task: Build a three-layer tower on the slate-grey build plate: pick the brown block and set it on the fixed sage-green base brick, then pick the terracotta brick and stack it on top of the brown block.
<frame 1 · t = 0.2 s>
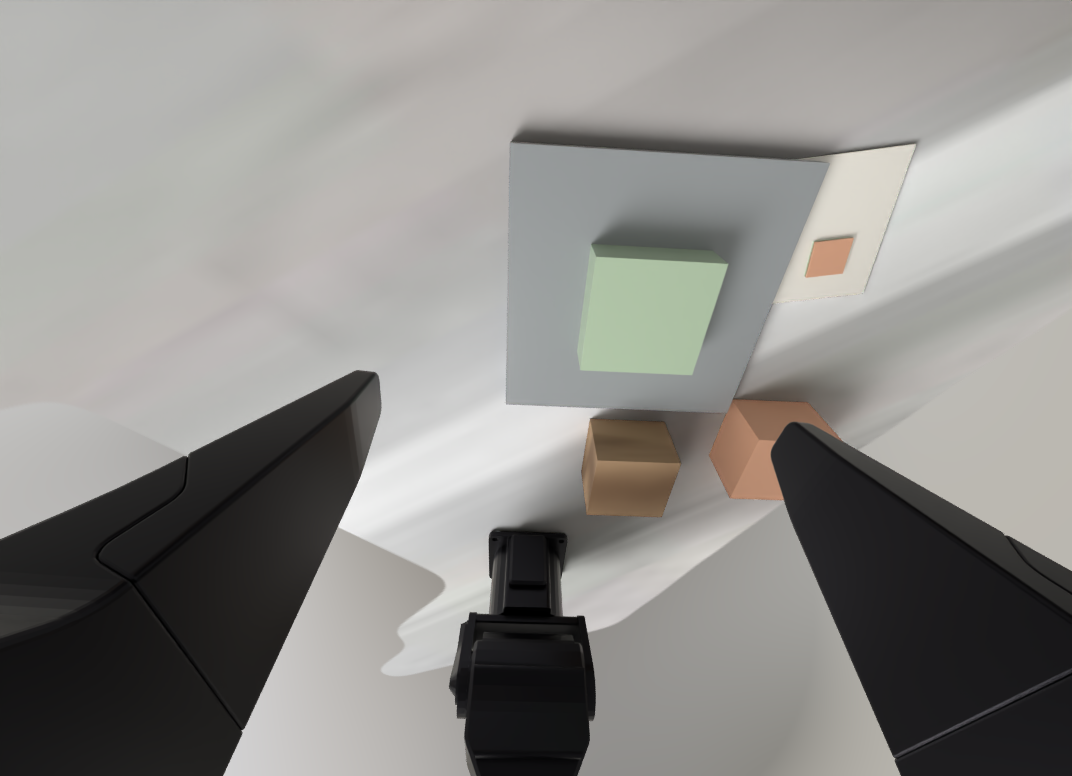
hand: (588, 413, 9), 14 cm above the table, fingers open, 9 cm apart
brown block: (620, 446, 29), on the table
brick terracotta: (755, 428, 28), on the table
build plate: (636, 298, 22), on the table
instruction card: (831, 231, 20), on the table
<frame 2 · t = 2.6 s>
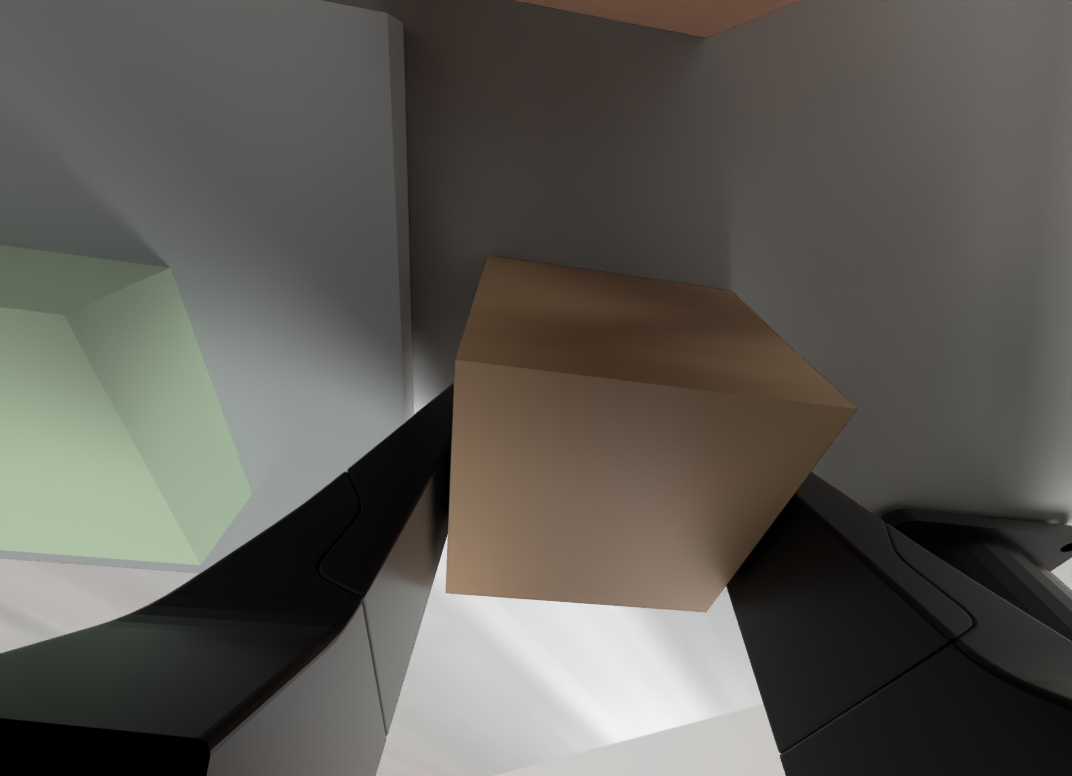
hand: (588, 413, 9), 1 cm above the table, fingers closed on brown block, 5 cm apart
brown block: (585, 376, 10), on the table, touching gripper
build plate: (102, 366, 9), on the table
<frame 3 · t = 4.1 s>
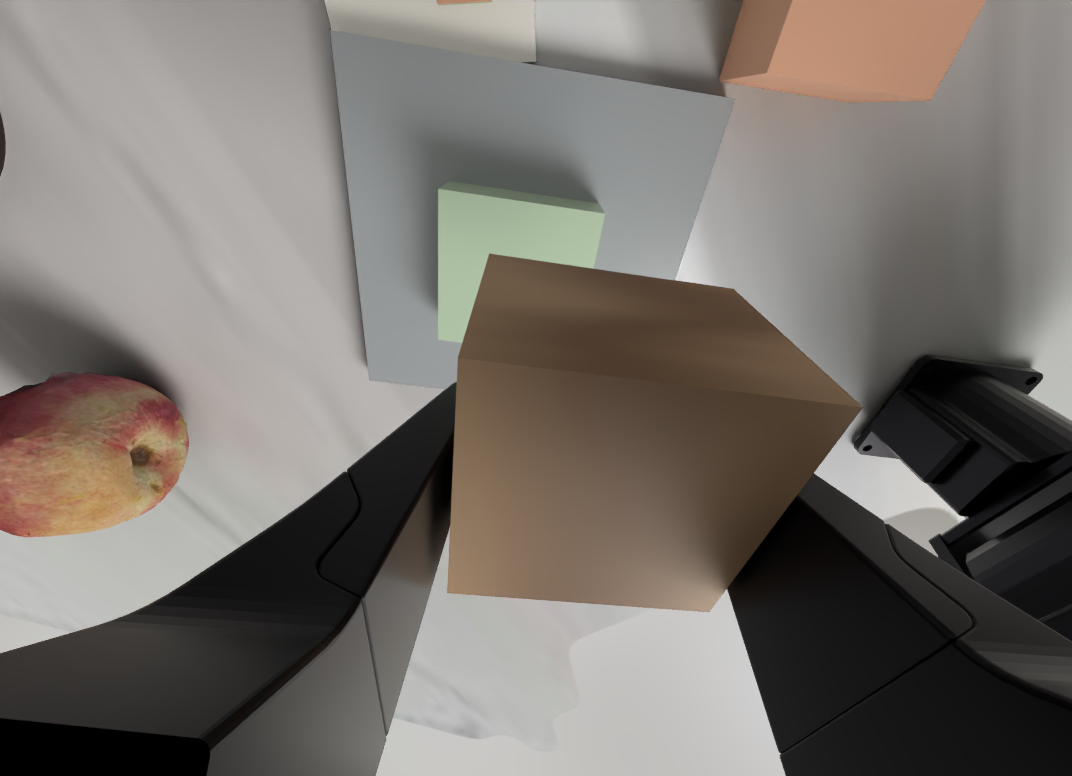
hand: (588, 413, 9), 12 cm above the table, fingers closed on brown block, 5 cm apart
brown block: (587, 375, 10), point 10 cm above the table, touching gripper
brick terracotta: (817, 0, 14), on the table
fruit: (153, 400, 24), on the table
build plate: (517, 261, 19), on the table
when the fingers open (5 cm above the table, at t = 5.8 s): brown block drops 1 cm, resting on build plate.
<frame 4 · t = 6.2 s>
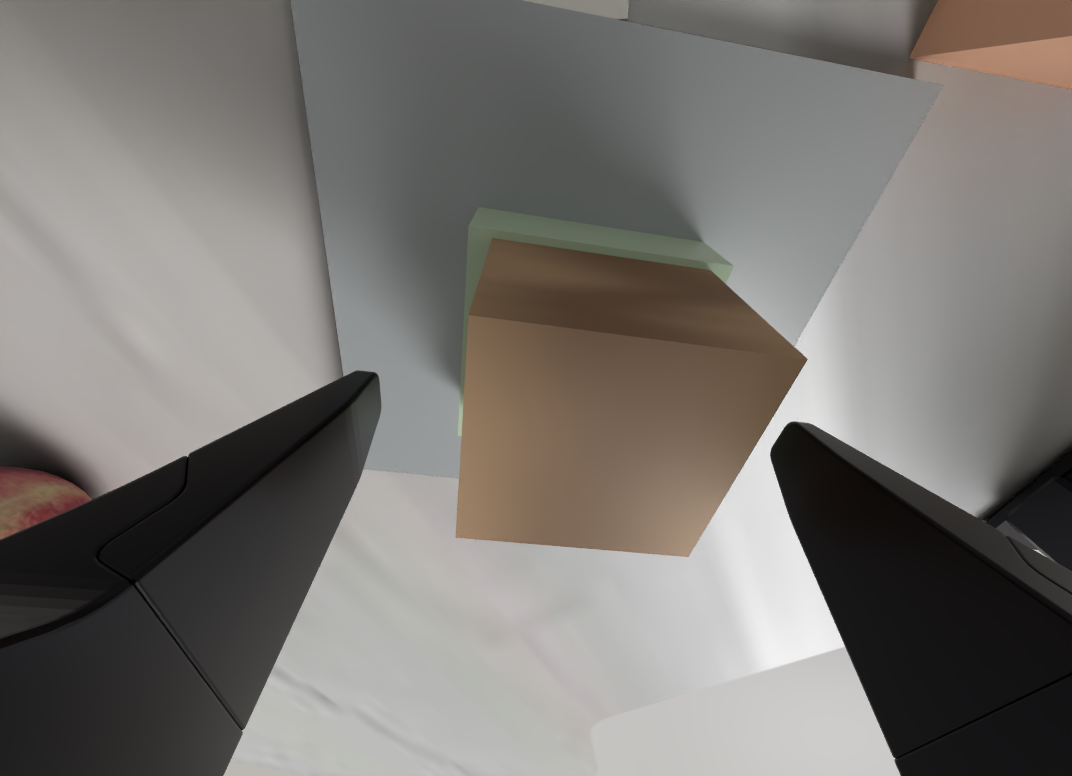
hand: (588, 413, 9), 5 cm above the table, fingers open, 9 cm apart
brown block: (581, 351, 11), point 3 cm above the table, touching build plate
fruit: (64, 486, 18), on the table
build plate: (569, 316, 13), on the table
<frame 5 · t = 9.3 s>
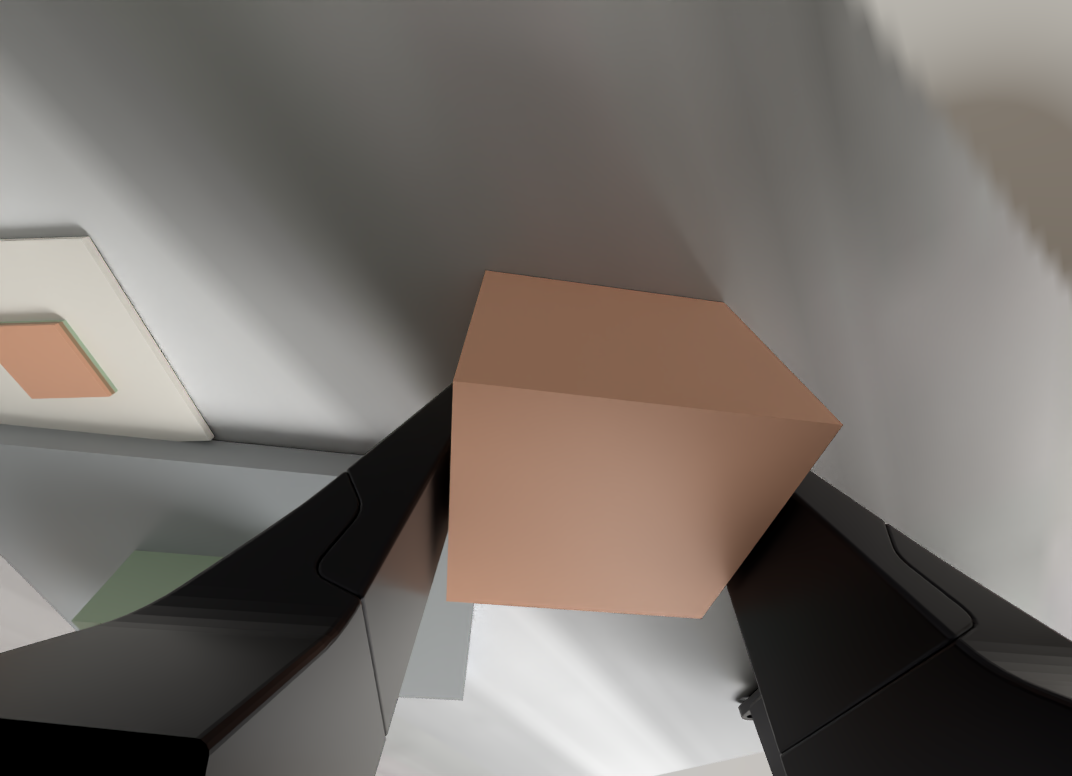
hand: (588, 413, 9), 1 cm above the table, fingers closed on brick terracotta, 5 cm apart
brick terracotta: (583, 386, 10), on the table, touching gripper
build plate: (277, 587, 15), on the table
instruction card: (7, 356, 9), on the table
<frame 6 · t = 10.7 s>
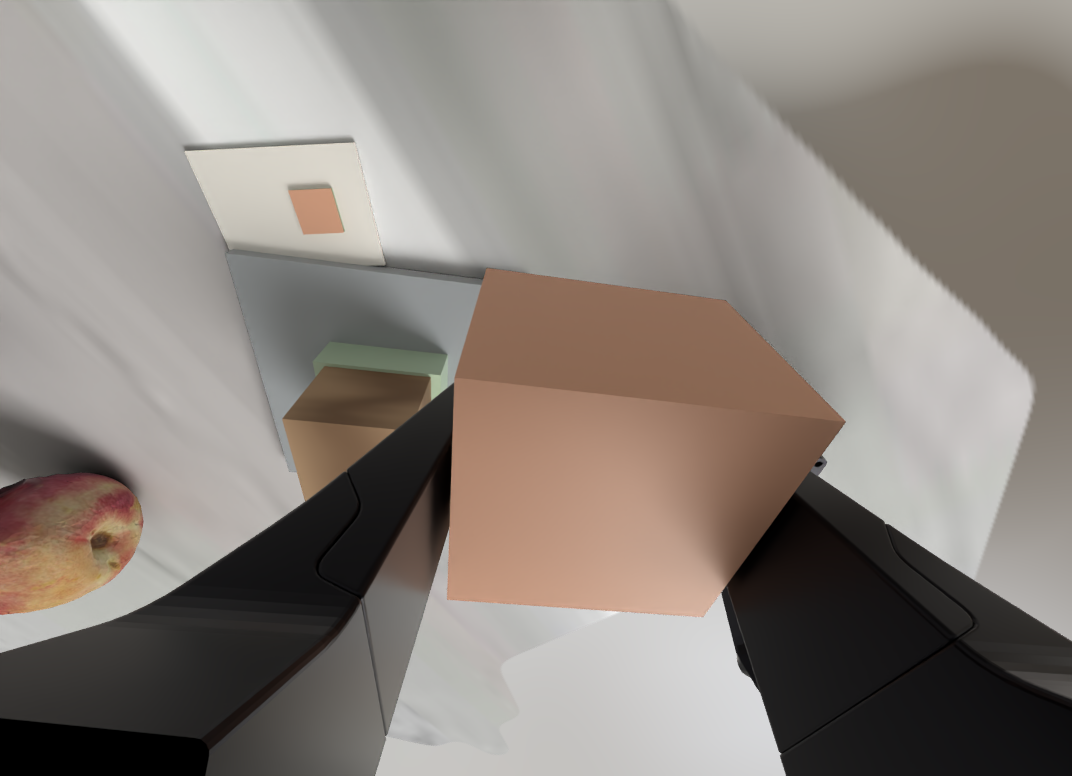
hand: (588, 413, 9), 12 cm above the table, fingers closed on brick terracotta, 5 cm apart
brown block: (382, 412, 21), point 3 cm above the table, touching build plate
brick terracotta: (584, 385, 10), point 11 cm above the table, touching gripper
fruit: (113, 484, 28), on the table
build plate: (397, 386, 24), on the table
instruction card: (293, 211, 18), on the table
when the fingers open (9 cm above the table, at t = 12.4 s): brick terracotta drops 1 cm, resting on brown block.
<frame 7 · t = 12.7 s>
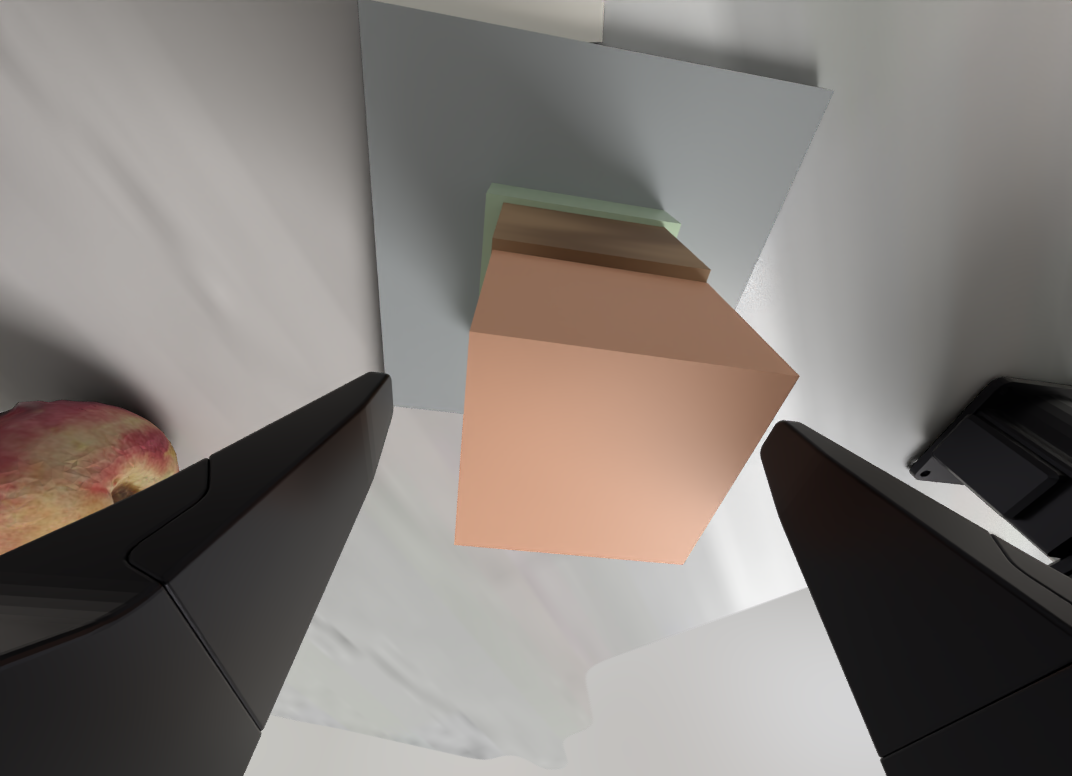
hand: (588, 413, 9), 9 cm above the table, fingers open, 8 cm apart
brown block: (569, 292, 14), point 3 cm above the table, touching brick terracotta, build plate
brick terracotta: (579, 360, 11), point 7 cm above the table, touching brown block
fruit: (138, 426, 21), on the table
build plate: (562, 274, 16), on the table
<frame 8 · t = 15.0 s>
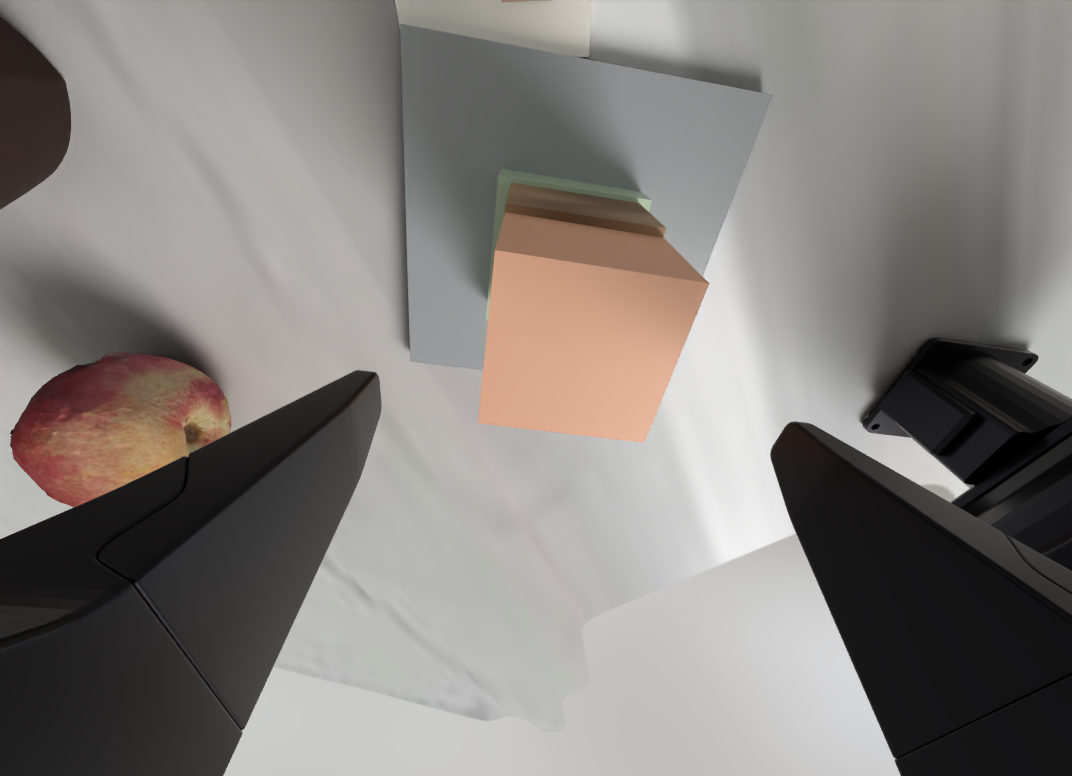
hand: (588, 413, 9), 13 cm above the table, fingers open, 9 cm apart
brown block: (564, 257, 17), point 3 cm above the table, touching brick terracotta, build plate
brick terracotta: (569, 301, 14), point 7 cm above the table, touching brown block
fruit: (193, 382, 24), on the table
build plate: (558, 246, 20), on the table
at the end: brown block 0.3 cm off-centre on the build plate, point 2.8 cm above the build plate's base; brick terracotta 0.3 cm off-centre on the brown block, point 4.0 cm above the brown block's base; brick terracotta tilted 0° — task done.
